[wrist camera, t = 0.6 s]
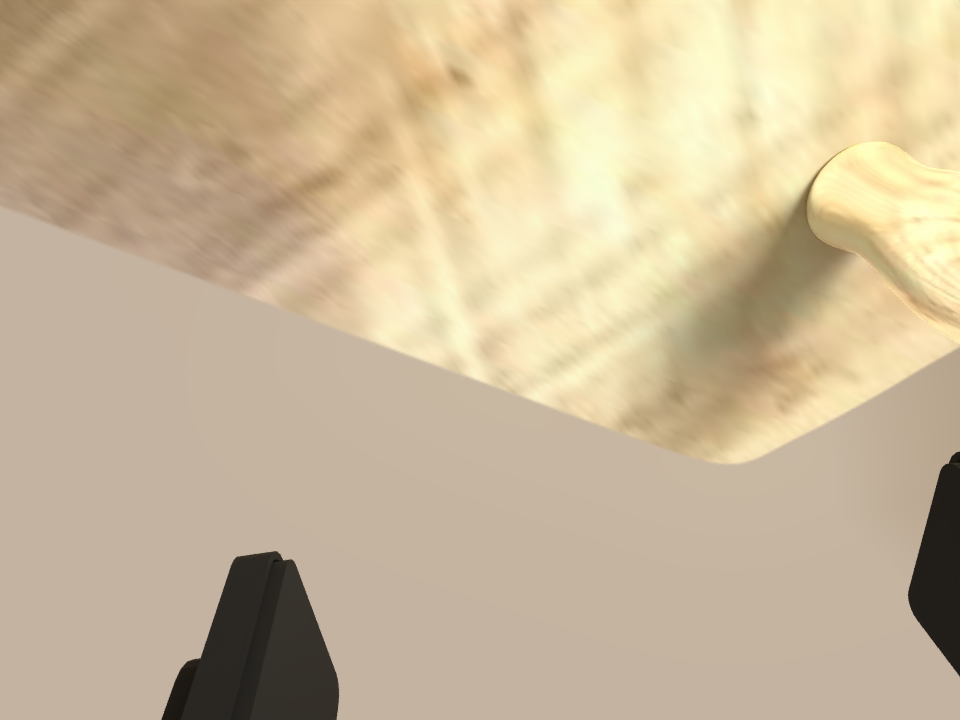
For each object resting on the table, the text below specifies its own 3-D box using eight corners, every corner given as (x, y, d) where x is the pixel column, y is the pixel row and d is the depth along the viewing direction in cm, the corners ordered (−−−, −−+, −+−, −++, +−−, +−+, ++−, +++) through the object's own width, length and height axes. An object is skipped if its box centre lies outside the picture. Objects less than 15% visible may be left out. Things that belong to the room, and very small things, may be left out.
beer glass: (815, 131, 37) (1029, 215, 24) (938, 132, 37) (1213, 216, 24) (784, 254, 40) (956, 386, 27) (897, 253, 41) (1119, 384, 28)
